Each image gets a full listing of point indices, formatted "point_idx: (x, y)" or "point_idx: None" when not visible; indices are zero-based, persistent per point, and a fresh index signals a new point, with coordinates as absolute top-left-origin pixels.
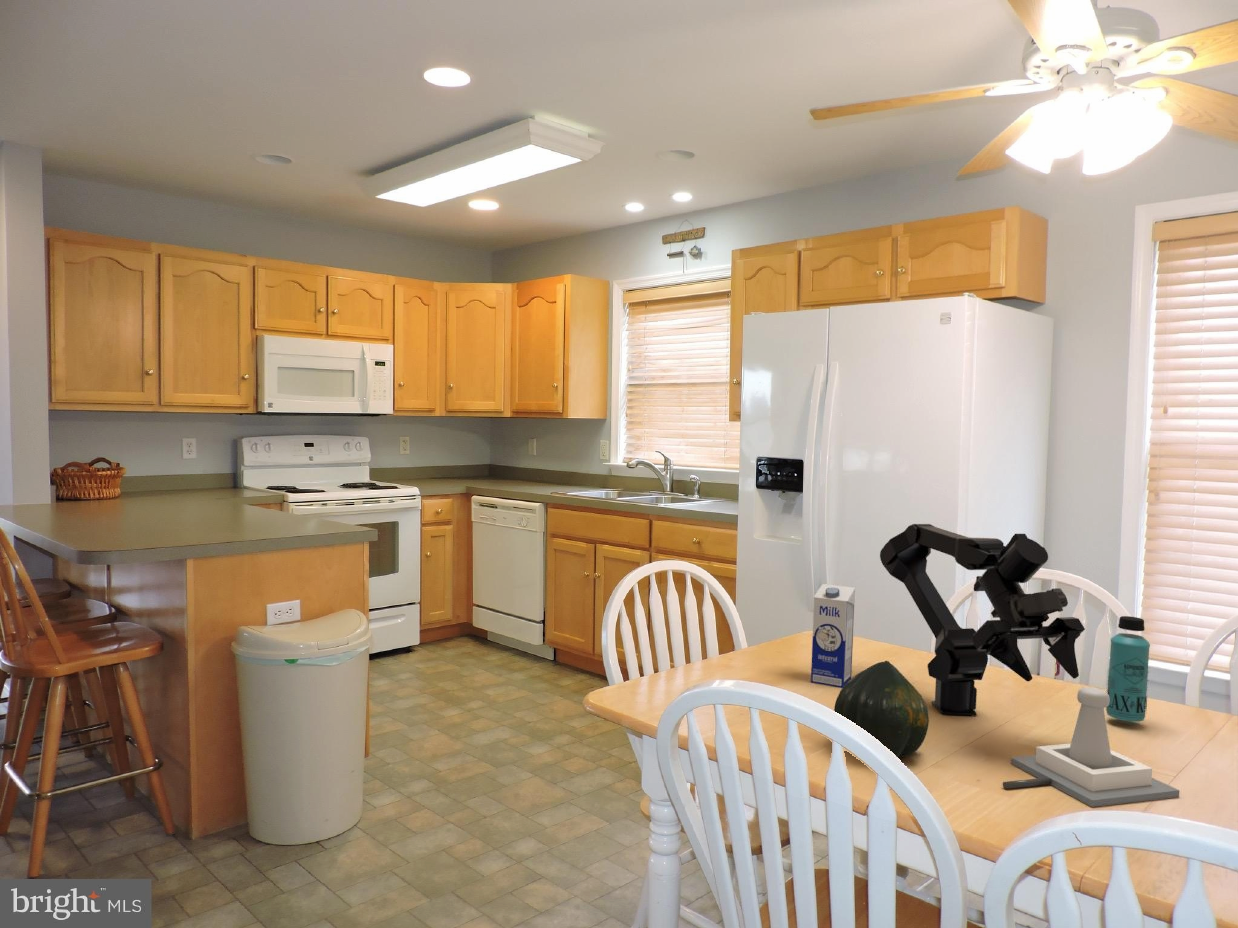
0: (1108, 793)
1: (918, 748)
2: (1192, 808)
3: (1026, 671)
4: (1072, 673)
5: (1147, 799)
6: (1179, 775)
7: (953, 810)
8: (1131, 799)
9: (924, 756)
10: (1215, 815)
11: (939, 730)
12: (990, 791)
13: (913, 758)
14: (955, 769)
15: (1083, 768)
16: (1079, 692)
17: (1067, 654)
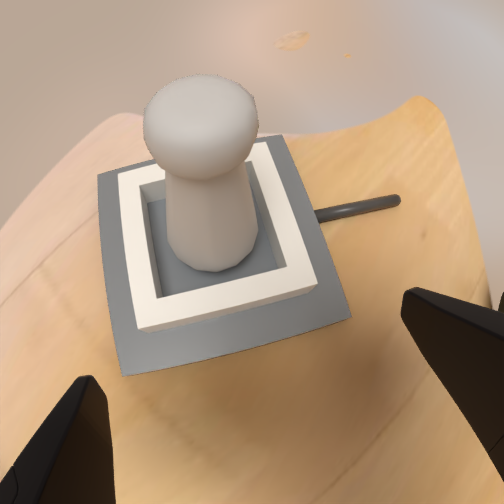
0: None
1: (502, 296)
2: (117, 146)
3: (447, 297)
4: (99, 408)
5: None
6: (29, 269)
7: (454, 152)
8: None
9: None
10: (105, 131)
11: (411, 484)
12: (413, 195)
13: None
14: (447, 277)
15: (268, 165)
16: (255, 118)
17: (57, 500)
